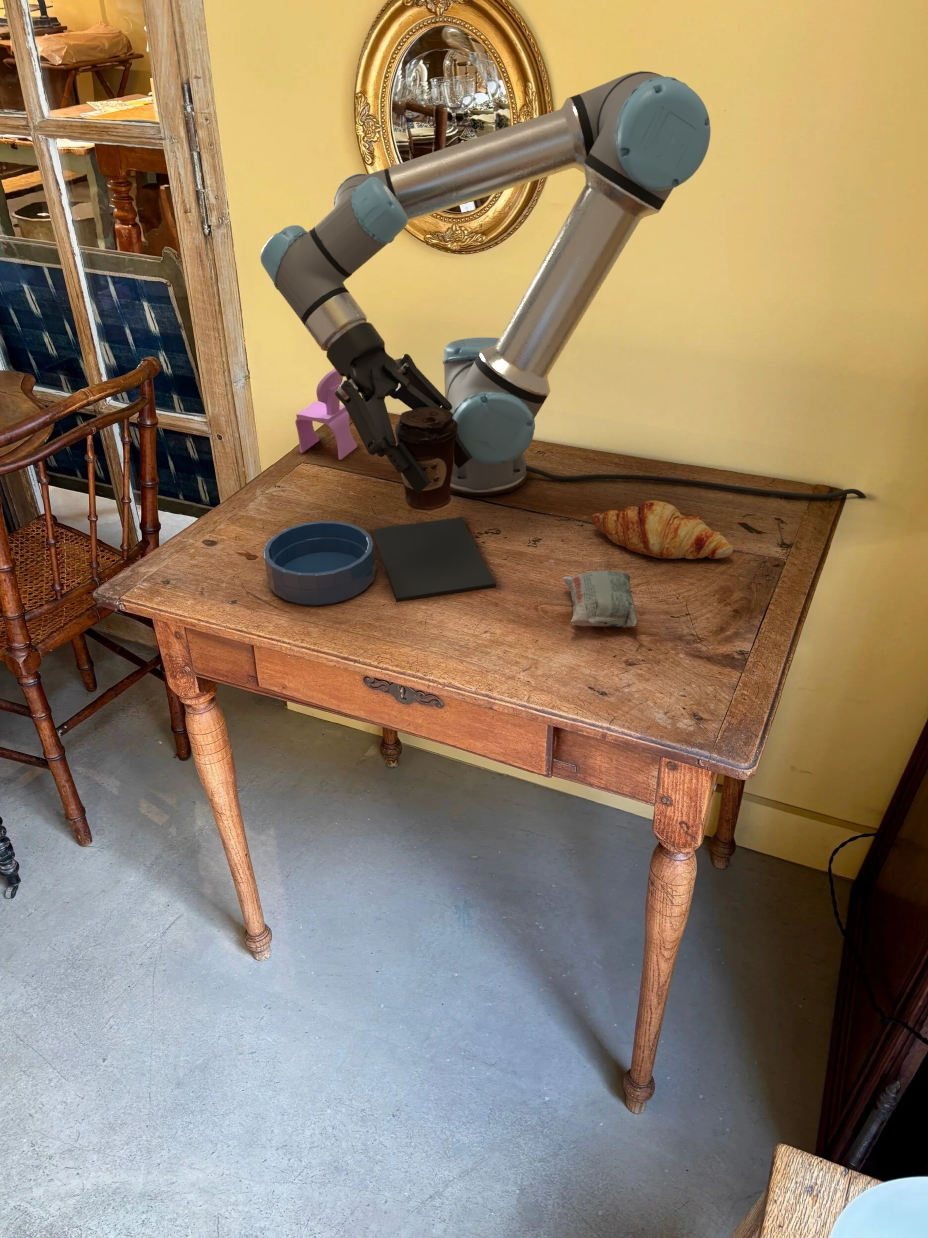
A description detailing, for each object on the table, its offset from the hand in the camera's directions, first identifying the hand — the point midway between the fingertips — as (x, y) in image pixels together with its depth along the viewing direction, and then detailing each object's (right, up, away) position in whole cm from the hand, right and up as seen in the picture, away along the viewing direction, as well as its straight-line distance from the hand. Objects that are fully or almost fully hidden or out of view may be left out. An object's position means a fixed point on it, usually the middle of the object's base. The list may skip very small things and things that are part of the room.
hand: (445, 475), depth 127 cm
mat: (-2, -11, +10) cm, 14 cm away
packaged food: (+20, -19, -3) cm, 28 cm away
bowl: (-17, -14, +6) cm, 23 cm away
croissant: (+31, -9, +11) cm, 34 cm away
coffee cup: (-2, -3, +5) cm, 6 cm away
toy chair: (-22, +11, +42) cm, 49 cm away
